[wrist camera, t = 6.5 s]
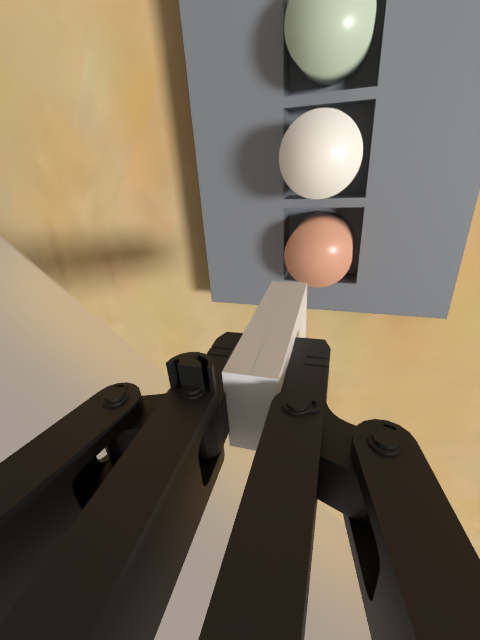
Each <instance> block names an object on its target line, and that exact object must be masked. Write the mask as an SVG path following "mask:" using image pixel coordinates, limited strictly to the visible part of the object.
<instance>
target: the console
mask: <svg viewBox="0 0 480 640" xmlns="http://www.w3.org/2000/svg"><path fill="white" fill-rule="evenodd" d="M288 2H289V0H179V8H180V17H181V26H182V35H183V44H184V53H185V62H186V71H187V80H188V89H189V98H190V107H191V117H192V126H193V135H194V144H195V153H196V162H197V171H198V180H199V189H200V198H201V207H202V217H203V226H204V235H205V244H206V253H207V262H208V271H209V280H210V289H211V298H212V302H225V303H239V304H252V305H259V304H260V302H261V300H262V298H263V296H264V295H265V293H266V291H267V289H268V287H269V286H270V284H271V282H272V281H281V282H298V281H297V280H295V279H294V278H293V277H292V276H291V274H290V273H289V271H288V269H287V267H286V264H285V260H284V251H285V247H286V244H287V242H288V240H289V238H290V237H291V235H292V234H293V232H294V231H295V230H296V228H297V227H298V225H299V224H300V223H301V221H302V220H303V219H305V218H306V217H307V216H309V215H311V214H313V213H316V212H321V211H328V212H333V213H336V214H338V215H340V216H341V217H343V218H344V219H345V220H346V221H347V222H348V224H349V226H350V227H351V230H352V234H353V252H352V262H351V265H350V268H349V270H348V271H347V273H346V274H345V275H344V277H343V278H341V279H340V280H339V281H338V282H336V283H334V284H332V285H330V286H326V287H320V288H315V287H309V286H307V309H320V310H334V311H347V312H361V313H374V314H388V315H401V316H415V317H429V318H442V319H447V315H448V311H449V308H450V304H451V300H452V296H453V292H454V288H455V284H456V280H457V276H458V272H459V268H460V264H461V260H462V256H463V252H464V248H465V244H466V241H467V237H468V233H469V229H470V225H471V221H472V217H473V213H474V209H475V205H476V201H477V197H478V193H479V189H480V0H376V2H377V4H376V16H375V23H374V30H373V36H372V42H371V46H370V49H369V52H368V54H367V56H366V58H365V60H364V62H363V63H362V65H361V66H360V67H359V69H358V70H357V71H356V72H355V73H354V74H353V75H352V76H351V77H349V78H348V79H346V80H345V81H343V82H341V83H338V84H335V85H320V84H317V83H315V82H313V81H311V80H310V79H309V78H308V77H307V76H306V75H305V74H304V73H303V71H302V70H301V69H300V67H299V66H298V65H297V64H296V62H295V61H294V60H293V58H292V56H291V55H290V53H289V50H288V48H287V44H286V40H285V33H284V22H285V14H286V9H287V5H288ZM317 108H334V109H337V110H340V111H342V112H344V113H345V114H347V115H348V116H349V117H350V118H351V119H352V120H353V121H354V122H355V123H356V125H357V127H358V129H359V131H360V133H361V137H362V141H363V156H362V161H361V165H360V167H359V170H358V172H357V174H356V176H355V177H354V179H353V180H352V182H351V183H350V184H349V185H348V186H347V187H346V188H345V189H344V190H342V191H341V192H339V193H338V194H336V195H334V196H331V197H329V198H325V199H309V198H305V197H302V196H300V195H298V194H297V193H295V192H294V191H293V190H292V189H291V188H290V187H289V186H288V185H287V184H286V182H285V180H284V178H283V176H282V174H281V170H280V166H279V151H280V146H281V142H282V139H283V137H284V135H285V133H286V131H287V130H288V128H289V127H290V125H291V124H292V123H293V122H294V121H295V120H296V119H297V118H298V117H300V116H301V115H303V114H304V113H306V112H308V111H310V110H313V109H317Z"/></svg>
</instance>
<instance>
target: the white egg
mask: <svg viewBox="0 0 480 640" xmlns="http://www.w3.org/2000/svg"><path fill="white" fill-rule="evenodd" d="M362 156H363V141H362V137H361V133H360V131H359V129H358V127H357V125H356V123H355V122H354V121H353V120H352V119H351V118H350V117H349V116H348V115H347V114H345V113H344V112H342V111H340V110H337V109H334V108H317V109H313V110H310V111H308V112H306V113H304V114H303V115H301V116H300V117H298V118H297V119H296V120H295V121H294V122H293V123H292V124H291V125H290V127H289V128H288V130H287V131H286V133H285V135H284V137H283V139H282V142H281V146H280V151H279V166H280V170H281V174H282V176H283V178H284V180H285V182H286V184H287V185H288V186H289V187H290V188H291V189H292V190H293V191H294V192H295V193H297V194H298V195H300V196H302V197H305V198H309V199H325V198H329V197H331V196H334V195H336V194H338V193H339V192H341V191H342V190H344V189H345V188H346V187H347V186H348V185H349V184H350V183H351V182H352V180H353V179H354V177H355V176H356V174H357V172H358V170H359V167H360V165H361V161H362Z"/></svg>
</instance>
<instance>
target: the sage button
mask: <svg viewBox="0 0 480 640" xmlns="http://www.w3.org/2000/svg"><path fill="white" fill-rule="evenodd" d="M376 4H377V2H376V0H289V2H288V5H287V9H286V14H285V22H284V33H285V40H286V44H287V48H288V50H289V53H290V55H291V56H292V58H293V60H294V61H295V62H296V64H297V65H298V66H299V67H300V69H301V70H302V71H303V73H304V74H305V75H306V76H307V77H308V78H309V79H310V80H311V81H313V82H315V83H317V84H320V85H335V84H338V83H341V82H343V81H345V80H346V79H348V78H349V77H351V76H352V75H353V74H354V73H355V72H356V71H357V70H358V69H359V67H360V66H361V65H362V63H363V62H364V60H365V58H366V56H367V54H368V52H369V49H370V46H371V42H372V36H373V30H374V23H375V16H376Z"/></svg>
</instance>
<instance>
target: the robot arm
mask: <svg viewBox="0 0 480 640" xmlns="http://www.w3.org/2000/svg"><path fill="white" fill-rule="evenodd" d="M306 308H307V283H304V282H281V281H272V282H271V284H270V286H269V287H268V289H267V291H266V293H265V295H264V296H263V298H262V300H261V302H260V304H259V306H258V307H257V309H256V311H255V313H254V315H253V316H252V318H251V320H250V322H249V324H248V325H247V327H246V329H245V331H244V333H234V332H226V333H224V334H223V335H221V336H220V337H218V338H217V339H216V341H215V342H214V344H213V345H212V347H211V348H210V350H209V351H208V353H207V355H206V354H204V353H200V352H188V353H183V354H179V355H177V356H175V357H173V358H171V359H170V360H169V361H168V362H166V366H167V371H168V376H169V381H170V386H171V388H170V389H169V390H168V392H167V393H165V394H157V395H147V396H141V393H140V390H139V387H137V386H136V385H134V384H131V383H117V384H114V385H111V386H108V387H106V388H104V389H103V390H101V391H99V392H98V393H96V394H95V395H93V396H92V397H91V398H89V399H88V400H87V401H85V402H84V403H82V404H81V405H80V406H78V407H77V408H76V409H74V410H73V411H71V412H70V413H69V414H67V415H66V416H65V417H63V418H62V419H60V420H59V421H58V422H56V423H55V424H53V425H52V426H51V427H50V428H48V429H47V430H45V431H44V432H42V433H41V434H40V435H38V436H37V437H36V438H34V439H33V440H31V441H30V442H29V443H27V444H26V445H25V446H23V447H22V448H20V449H19V450H18V451H16V452H15V453H14V454H12V455H11V456H9V457H8V458H7V459H5V460H4V461H2V462H1V463H0V640H154V638H155V635H156V633H157V630H158V627H159V625H160V622H161V620H162V617H163V615H164V612H165V610H166V607H167V604H168V602H169V599H170V597H171V594H172V592H173V589H174V587H175V584H176V581H177V579H178V576H179V573H180V571H181V569H182V566H183V564H184V561H185V558H186V556H187V553H188V551H189V548H190V546H191V543H192V541H193V538H194V535H195V533H196V530H197V528H198V525H199V523H200V520H201V517H202V515H203V512H204V510H205V507H206V505H207V502H208V500H209V497H210V494H211V492H212V489H213V486H214V484H215V482H216V479H217V476H218V474H219V471H220V469H221V466H222V463H223V461H224V443H225V440H226V438H227V435H228V433H229V441H230V445H231V446H235V447H241V448H246V449H251V450H256V453H255V457H254V460H253V463H252V467H251V470H250V473H249V476H248V480H247V483H246V486H245V489H244V493H243V496H242V499H241V502H240V506H239V509H238V512H237V515H236V519H235V522H234V525H233V528H232V532H231V535H230V538H229V542H228V545H227V548H226V551H225V555H224V558H223V561H222V564H221V568H220V571H219V574H218V578H217V581H216V584H215V587H214V591H213V594H212V597H211V600H210V604H209V607H208V610H207V614H206V617H205V620H204V624H203V627H202V630H201V633H200V637H199V640H304V635H305V624H306V614H307V603H308V593H309V582H310V572H311V561H312V550H313V540H314V529H315V519H316V509H317V499H319V500H320V501H322V502H324V503H326V504H327V505H329V506H331V507H333V508H334V509H336V510H338V511H340V512H341V513H343V516H344V521H345V525H346V529H347V534H348V538H349V542H350V547H351V551H352V556H353V560H354V564H355V568H356V573H357V577H358V581H359V586H360V590H361V594H362V599H363V603H364V608H365V612H366V617H367V621H368V625H369V630H370V634H371V638H372V640H480V559H479V557H478V555H477V553H476V552H475V550H474V548H473V546H472V544H471V542H470V540H469V538H468V537H467V535H466V533H465V531H464V529H463V527H462V525H461V523H460V522H459V520H458V518H457V516H456V514H455V512H454V510H453V509H452V507H451V505H450V503H449V501H448V499H447V497H446V495H445V494H444V492H443V490H442V488H441V486H440V484H439V482H438V480H437V479H436V477H435V475H434V473H433V471H432V469H431V467H430V465H429V464H428V462H427V460H426V458H425V456H424V454H423V452H422V451H421V449H420V447H419V445H418V443H417V441H416V440H415V439H414V437H413V436H412V435H411V434H410V432H408V431H407V430H405V429H404V428H402V427H401V426H400V425H397V424H395V423H392V422H390V421H387V420H378V419H373V420H367V421H364V422H362V423H360V424H359V425H357V426H355V425H353V424H350V423H348V422H346V421H344V420H342V419H340V418H338V417H337V416H336V415H334V414H333V413H332V411H331V410H330V409H329V408H328V405H327V403H326V399H327V388H328V375H329V362H330V347H329V345H328V344H327V342H326V341H325V340H321V339H310V338H306ZM104 448H105V449H106V452H107V455H106V456H105V457H103V458H102V459H97V457H96V455H98V454H99V453H100V452H101V451H102V450H103V449H104Z"/></svg>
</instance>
